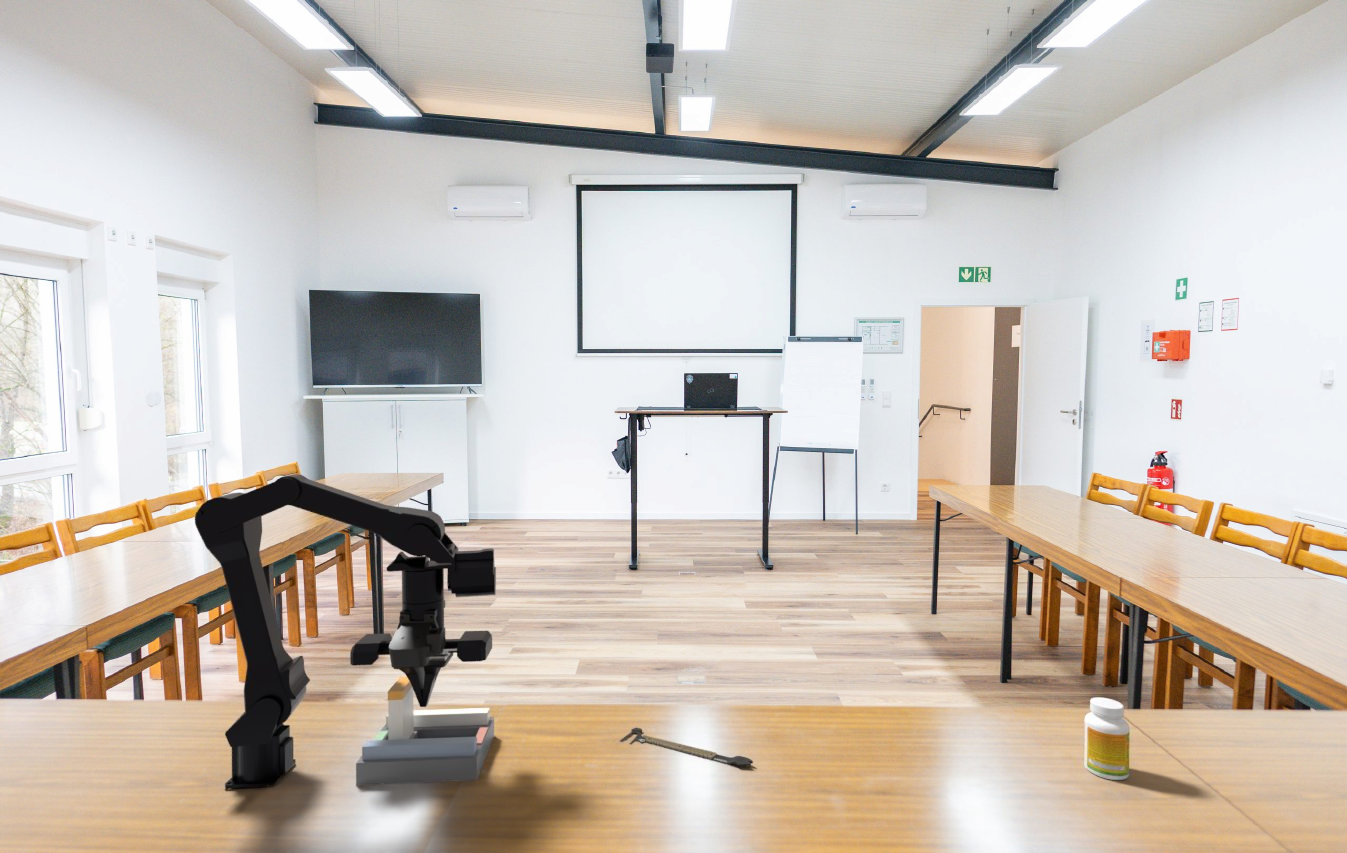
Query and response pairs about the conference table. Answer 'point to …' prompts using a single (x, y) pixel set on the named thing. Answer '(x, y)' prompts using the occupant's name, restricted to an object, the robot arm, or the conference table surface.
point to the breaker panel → (428, 764)
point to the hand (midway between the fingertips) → (424, 705)
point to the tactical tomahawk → (687, 749)
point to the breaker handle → (401, 711)
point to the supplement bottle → (1106, 740)
